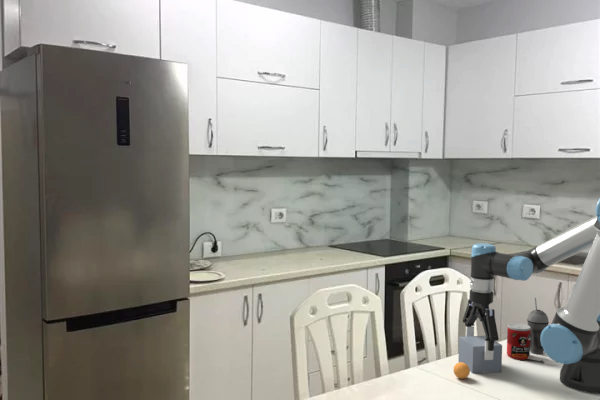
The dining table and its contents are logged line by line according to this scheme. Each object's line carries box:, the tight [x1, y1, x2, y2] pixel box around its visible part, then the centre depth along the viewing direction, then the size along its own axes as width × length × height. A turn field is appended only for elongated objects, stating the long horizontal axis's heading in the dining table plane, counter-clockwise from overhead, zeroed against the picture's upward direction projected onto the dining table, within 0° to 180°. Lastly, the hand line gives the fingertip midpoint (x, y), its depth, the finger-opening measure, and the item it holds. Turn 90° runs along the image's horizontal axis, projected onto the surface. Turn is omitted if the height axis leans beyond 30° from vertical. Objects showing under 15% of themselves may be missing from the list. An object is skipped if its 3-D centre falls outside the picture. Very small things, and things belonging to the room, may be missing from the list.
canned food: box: [506, 322, 531, 361], centre depth 193 cm, size 8×8×11 cm
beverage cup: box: [526, 297, 550, 355], centre depth 197 cm, size 7×7×20 cm
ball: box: [452, 362, 471, 380], centre depth 173 cm, size 5×5×5 cm
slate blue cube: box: [457, 335, 503, 374], centre depth 183 cm, size 10×10×9 cm
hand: (478, 352), depth 183 cm, fingers open, 13 cm apart
